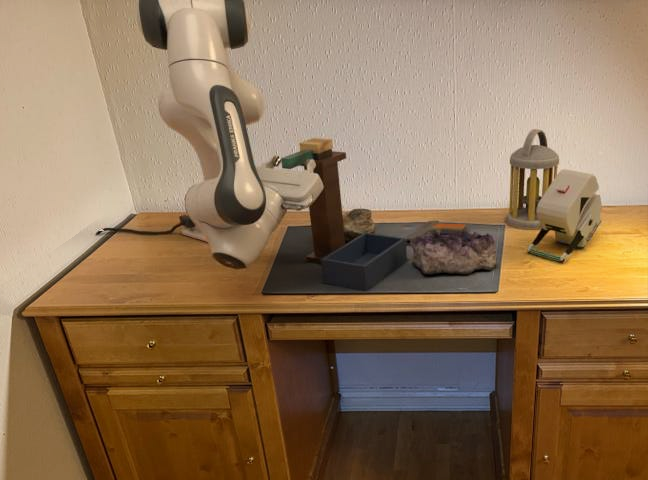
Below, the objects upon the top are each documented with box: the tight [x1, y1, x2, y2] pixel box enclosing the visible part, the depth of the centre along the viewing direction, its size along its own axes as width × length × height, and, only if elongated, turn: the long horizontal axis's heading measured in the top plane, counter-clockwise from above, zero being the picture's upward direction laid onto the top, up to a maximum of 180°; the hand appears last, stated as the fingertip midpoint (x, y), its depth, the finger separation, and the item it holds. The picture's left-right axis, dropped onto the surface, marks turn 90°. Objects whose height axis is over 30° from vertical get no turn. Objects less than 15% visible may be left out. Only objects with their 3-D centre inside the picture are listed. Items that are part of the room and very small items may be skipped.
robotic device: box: [526, 168, 603, 264], centre depth 163 cm, size 10×21×20 cm
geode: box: [410, 230, 497, 275], centre depth 155 cm, size 20×12×10 cm, turn 96°
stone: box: [342, 208, 376, 242], centre depth 176 cm, size 14×10×10 cm
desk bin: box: [320, 233, 408, 292], centre depth 155 cm, size 12×20×6 cm, turn 154°
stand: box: [299, 150, 347, 264], centre depth 160 cm, size 8×10×25 cm
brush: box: [280, 137, 334, 170], centre depth 148 cm, size 15×5×4 cm, turn 154°
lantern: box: [505, 128, 560, 230], centre depth 180 cm, size 14×14×25 cm
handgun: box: [406, 219, 467, 246], centre depth 176 cm, size 2×16×12 cm
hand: (294, 159), depth 145 cm, fingers open, 8 cm apart
